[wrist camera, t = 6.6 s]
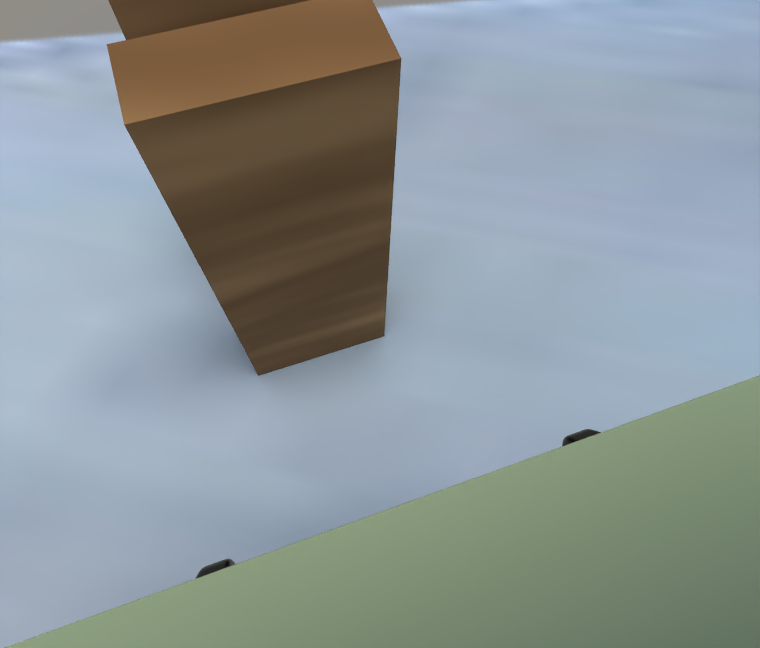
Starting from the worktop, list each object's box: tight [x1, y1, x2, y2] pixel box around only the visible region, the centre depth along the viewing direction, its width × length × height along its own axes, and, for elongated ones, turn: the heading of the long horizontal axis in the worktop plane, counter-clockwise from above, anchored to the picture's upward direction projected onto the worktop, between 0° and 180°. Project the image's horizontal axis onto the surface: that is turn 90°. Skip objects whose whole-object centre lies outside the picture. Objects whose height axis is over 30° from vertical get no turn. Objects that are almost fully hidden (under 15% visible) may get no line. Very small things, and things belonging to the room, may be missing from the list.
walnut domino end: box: [109, 0, 309, 40], centre depth 18 cm, size 2×5×13 cm, turn 109°
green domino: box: [5, 375, 760, 648], centre depth 8 cm, size 2×5×13 cm, turn 109°
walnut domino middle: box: [107, 0, 401, 375], centre depth 16 cm, size 2×5×13 cm, turn 109°
